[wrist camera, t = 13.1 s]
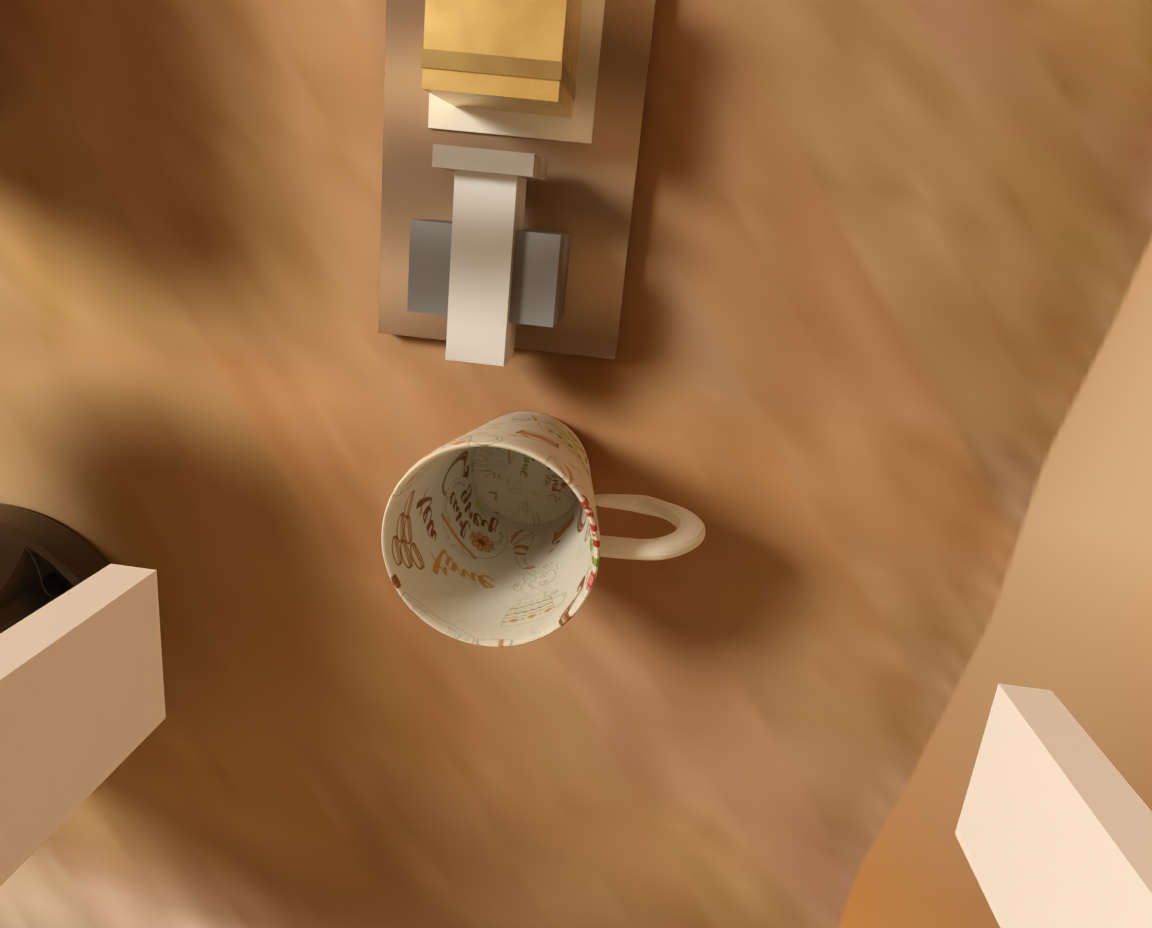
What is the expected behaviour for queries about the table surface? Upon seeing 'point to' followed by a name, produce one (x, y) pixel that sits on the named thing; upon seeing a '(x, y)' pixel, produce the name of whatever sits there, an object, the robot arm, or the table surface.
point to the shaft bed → (546, 202)
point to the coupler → (503, 54)
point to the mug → (510, 532)
